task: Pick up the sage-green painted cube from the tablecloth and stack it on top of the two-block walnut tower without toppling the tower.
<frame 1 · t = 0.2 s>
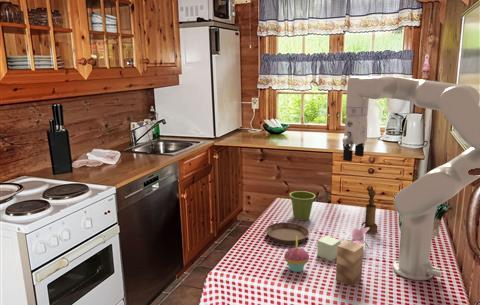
hand: (353, 158, 142), 36 cm above the table, tool pointing down, fingers open, 9 cm apart
plant pot: (301, 218, 181), on the table
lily: (357, 248, 151), on the table
plant saucer: (287, 237, 161), on the table
tower base: (348, 279, 128), on the table, touching tower top
brown carved statuette: (369, 230, 167), on the table
cupcake: (296, 269, 135), on the table
sage block: (328, 255, 145), on the table
tower top: (349, 262, 127), point 6 cm above the table, touching tower base
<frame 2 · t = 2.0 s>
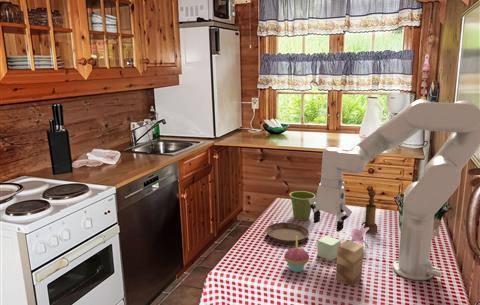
hand: (327, 226, 143), 11 cm above the table, tool pointing down, fingers open, 9 cm apart
nothing on the table moved.
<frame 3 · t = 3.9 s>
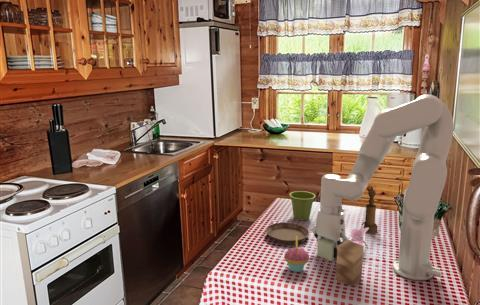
hand: (328, 253, 145), 1 cm above the table, tool pointing down, fingers closed on sage block, 6 cm apart
sage block: (328, 255, 145), on the table, touching gripper
everything else where it was.
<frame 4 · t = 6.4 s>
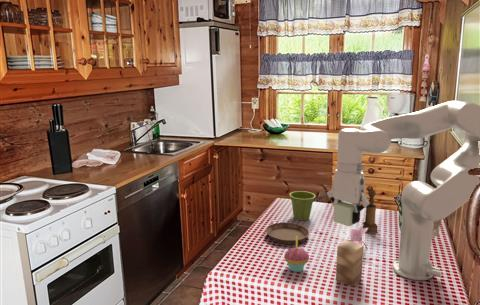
hand: (346, 219, 128), 19 cm above the table, tool pointing down, fingers closed on sage block, 6 cm apart
sage block: (346, 221, 129), point 19 cm above the table, touching gripper
when the fingers open (14 cm above the table, at t = 8.9 s): sage block drops 1 cm, resting on tower top.
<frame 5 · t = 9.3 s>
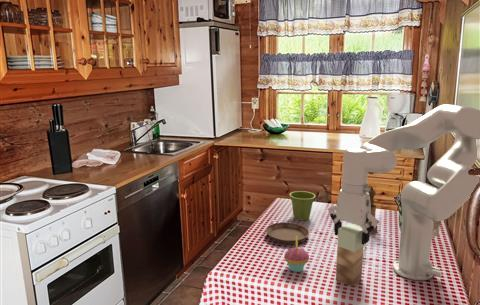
hand: (351, 238, 125), 14 cm above the table, tool pointing down, fingers open, 9 cm apart
sage block: (350, 245, 126), point 12 cm above the table, touching tower top
tower top: (349, 262, 127), point 6 cm above the table, touching sage block, tower base
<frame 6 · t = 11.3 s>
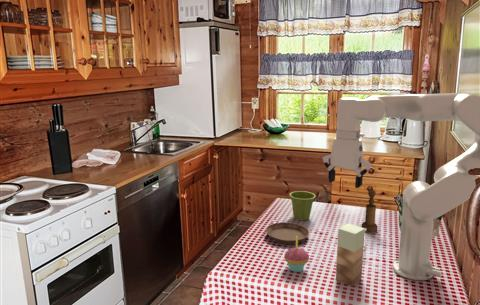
hand: (344, 184, 133), 29 cm above the table, tool pointing down, fingers open, 9 cm apart
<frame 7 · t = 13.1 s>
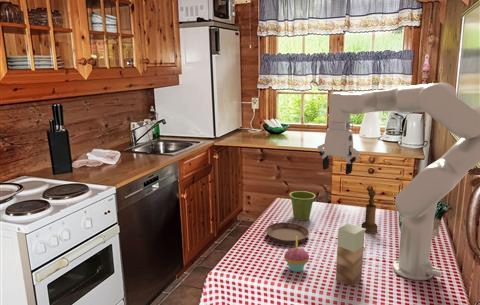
hand: (336, 171, 146), 30 cm above the table, tool pointing down, fingers open, 9 cm apart
at the end: sage block 0.0 cm off-centre on the tower base, point 12.0 cm above the tower base's base; tower top tilted 0°; the gripper is holding nothing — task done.
